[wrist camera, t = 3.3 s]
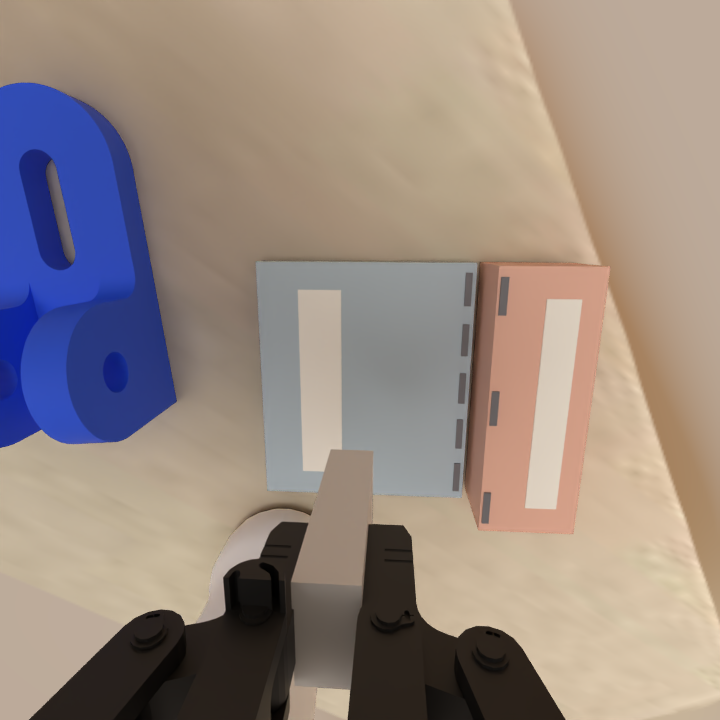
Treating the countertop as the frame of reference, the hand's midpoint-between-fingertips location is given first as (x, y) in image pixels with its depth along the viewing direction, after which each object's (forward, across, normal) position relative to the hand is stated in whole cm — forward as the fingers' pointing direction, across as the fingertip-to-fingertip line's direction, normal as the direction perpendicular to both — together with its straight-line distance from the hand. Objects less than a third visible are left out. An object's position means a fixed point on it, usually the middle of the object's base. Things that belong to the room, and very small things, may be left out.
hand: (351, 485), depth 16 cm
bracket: (+12, -17, +7) cm, 22 cm away
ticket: (+12, 0, 0) cm, 12 cm away
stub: (+12, +9, 0) cm, 15 cm away
